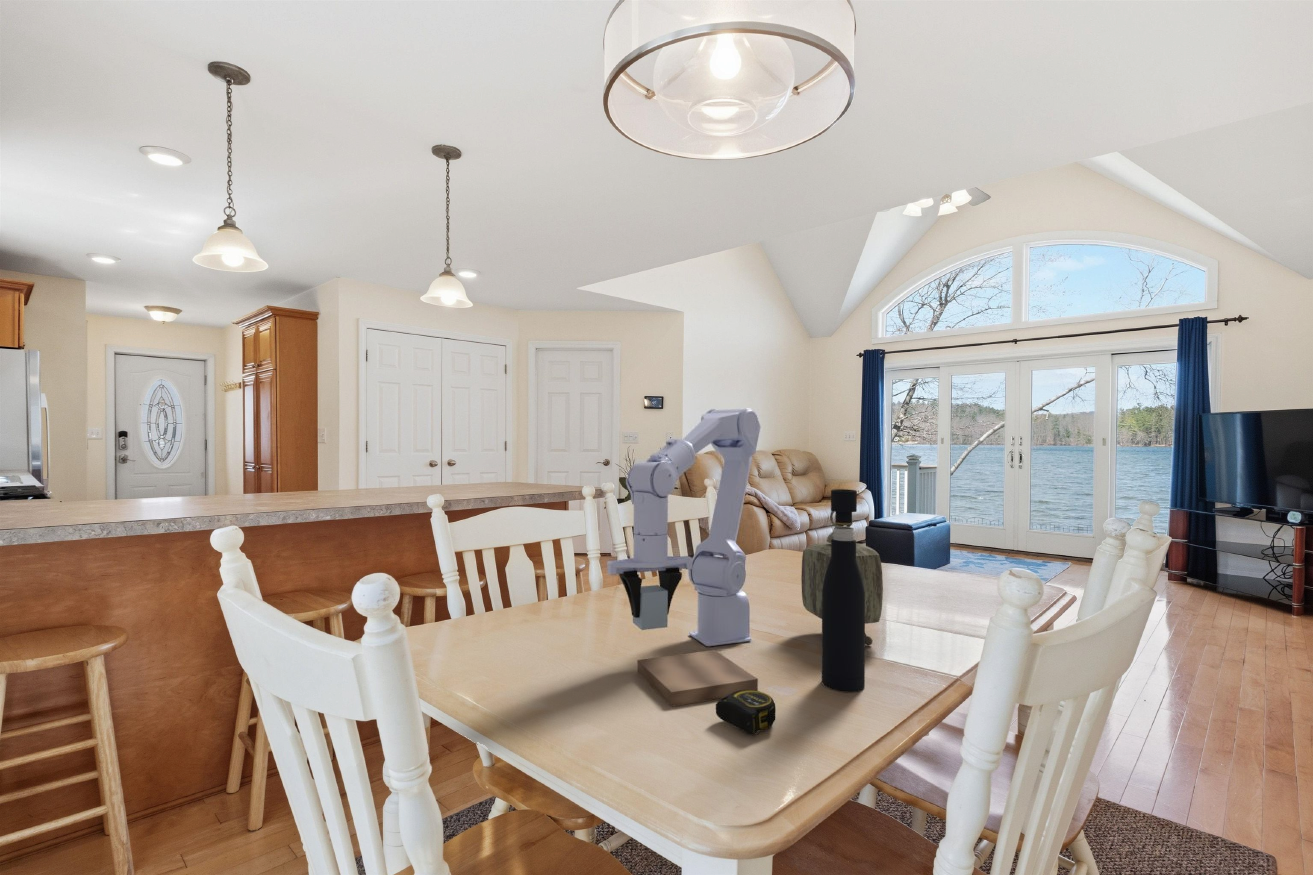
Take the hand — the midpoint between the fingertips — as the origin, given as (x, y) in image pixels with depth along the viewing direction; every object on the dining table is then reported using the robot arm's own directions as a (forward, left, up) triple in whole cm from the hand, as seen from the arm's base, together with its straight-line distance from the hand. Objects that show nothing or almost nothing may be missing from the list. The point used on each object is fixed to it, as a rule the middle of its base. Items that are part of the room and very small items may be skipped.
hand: (650, 614), depth 106 cm
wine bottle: (-25, +18, -9) cm, 32 cm away
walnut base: (-4, +9, -8) cm, 13 cm away
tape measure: (-4, +26, -9) cm, 28 cm away
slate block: (0, 0, -2) cm, 2 cm away
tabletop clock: (-39, -1, -9) cm, 40 cm away
